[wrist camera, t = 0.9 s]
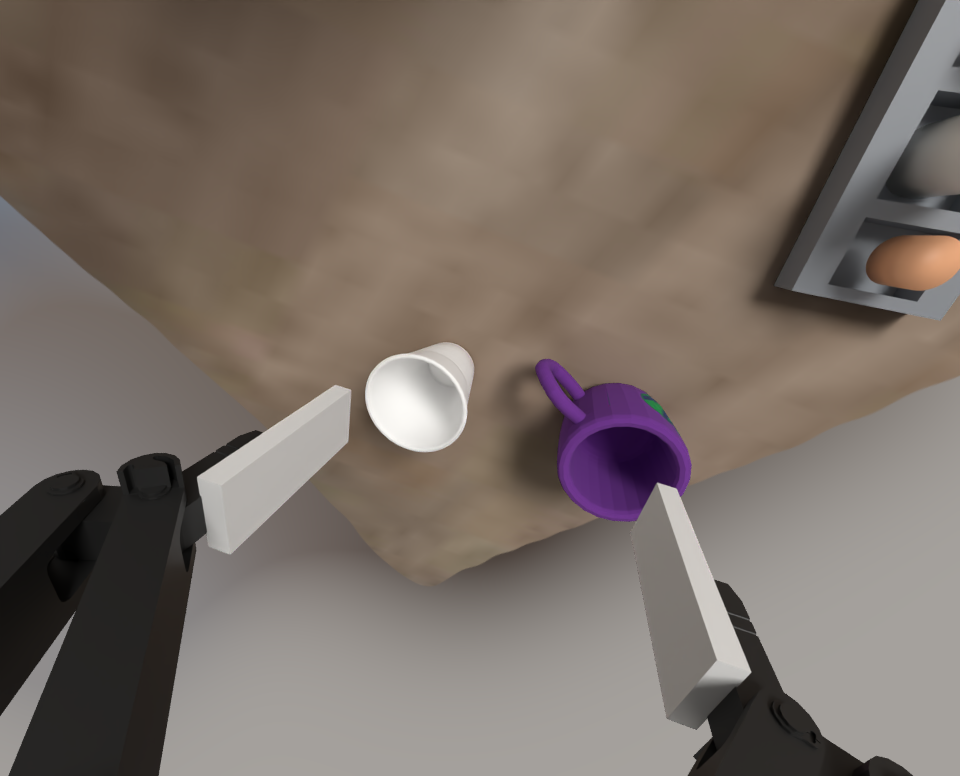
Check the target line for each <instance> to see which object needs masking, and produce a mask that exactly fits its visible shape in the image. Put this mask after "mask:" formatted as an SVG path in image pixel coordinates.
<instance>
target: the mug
mask: <svg viewBox="0 0 960 776" xmlns="http://www.w3.org/2000/svg"><path fill="white" fill-rule="evenodd" d="M535 369H536V374H537V376H538V378H539V381H540V383H541V385H542V387H543V389H544V390H545V392H546V394H547V396H548V397H549V399H550V400H551V401H552V403H553V404H554V406H555V407H556V408H557V409H558V410H559V411H560V412H561V413H562V414H564V415H565V416H564V419H563V423H562V427H561V431H560V437H559V443H558V455H557V469H558V477H559V480H560V482H561V485H562V487H563V489H564V491H565V492H566V493H567V495H568V496H569V497H570V498H571V500H572V501H573V502H575V503H576V504H577V505H578V506H580V507H581V508H582V509H583V510H585V511H587V512H589V513H591V514H593V515H595V516H597V517H600V518H604V519H608V520H612V521H629V522H630V521H637V519H638V517H639V515H640V513H641V511H642V510H643V508H644V506H645V504H646V502H647V500H648V498H649V496H650V495H651V493H652V491H653V489H654V487H655V485H656V483H660V484H663V485H666V486H670V487H673V488H676V489H677V490H678V493H679V495H680V497H681V496H682V495H683V493H684V491H685V489H686V487H687V485H688V483H689V480H690V475H691V461H690V457H689V454H688V450H687V447H686V446H685V444H684V442H683V440H682V438H681V436H680V434H679V433H678V431H677V430H676V428H675V427H674V425H673V424H672V422H671V421H670V419H669V418H668V416H667V415H666V413H665V412H664V410H663V409H662V407H661V406H660V405H659V404H658V403H657V402H656V401H655V400H654V399H653V398H651V397H650V396H649V395H648V394H647V393H645V392H644V391H642V390H640V389H638V388H636V387H634V386H632V385H627V384H621V383H608V384H602V385H598V386H595V387H592V388H590V389H588V390H586V391H583V389H582V388H581V387H580V385H579V384H578V383H577V382H576V381H575V380H574V378H573V377H572V376H571V375H570V374H569V373H568V372H567V371H566V370H565V369H564V368H563V367H562V366H561V365H559V364H558V363H557V362H556V361H553V360H551V359H543V360H540V361H539V362H538V363H537V365H536V367H535ZM554 377H555V378H556V379H557V380H558V382H559V383H560V384H561V385H562V386H563V387H564V388H565V389H566V390H567V391H568V393H569V394H570V395H571V397H572V398H573V399H574V401H573V402H572V401H571V400H570V399H569V398H568V397H567V396H566V395H565V393H564V392H563V391H562V389H561V388H560V386H559V385H558V383H557V381H556V379H555V378H554Z"/></svg>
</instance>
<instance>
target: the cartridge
mask: <svg viewBox="0 0 960 776" xmlns="http://www.w3.org/2000/svg"><path fill="white" fill-rule="evenodd" d="M885 184H886V186H887V188H888V189H889V190H890V191H891V192H892V193H893V194H894V195H896V196H899V197H902V198H908V199H915V198H925V197H936V196H947V195H957V194H960V115H957V116H954V117H950V118H947V119H944V120H940V121H937V122H934V123H930V124H927V125H925V126H922V127H920V128H918V129H916V130H915V132H914V134H913V135H912V137H911V139H910V141H909V142H908V144H907V146H906V148H905V149H904V151H903V153H902V155H901V157H900V158H899V160H898V162H897V164H896V165H895V167H894V169H893V171H892V172H891V174H890V176H889V178H888V179H887V181H886V183H885Z"/></svg>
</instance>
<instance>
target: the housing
mask: <svg viewBox="0 0 960 776" xmlns="http://www.w3.org/2000/svg"><path fill="white" fill-rule="evenodd" d="M957 115H960V0H919V1H918V2H917V4H916V6H915V8H914V10H913V12H912V14H911V16H910V18H909V20H908V22H907V24H906V26H905V28H904V30H903V32H902V34H901V36H900V38H899V40H898V42H897V44H896V46H895V48H894V50H893V52H892V54H891V56H890V58H889V60H888V62H887V64H886V66H885V67H884V69H883V71H882V73H881V75H880V77H879V79H878V81H877V83H876V85H875V87H874V89H873V91H872V93H871V95H870V97H869V99H868V101H867V103H866V105H865V107H864V109H863V111H862V113H861V115H860V117H859V119H858V121H857V123H856V125H855V127H854V129H853V130H852V132H851V134H850V136H849V138H848V140H847V142H846V144H845V146H844V148H843V150H842V152H841V154H840V156H839V158H838V160H837V162H836V164H835V166H834V168H833V170H832V172H831V174H830V176H829V178H828V180H827V182H826V184H825V186H824V188H823V190H822V192H821V194H820V195H819V197H818V199H817V201H816V203H815V205H814V207H813V209H812V211H811V213H810V215H809V217H808V219H807V221H806V223H805V225H804V227H803V229H802V231H801V233H800V235H799V237H798V239H797V241H796V243H795V245H794V247H793V249H792V251H791V253H790V255H789V257H788V259H787V260H786V262H785V264H784V266H783V268H782V270H781V272H780V274H779V276H778V278H777V280H776V282H775V284H774V286H776V287H780V288H784V289H787V290H791V291H796V292H801V293H806V294H811V295H816V296H821V297H826V298H831V299H836V300H841V301H846V302H851V303H856V304H861V305H866V306H871V307H875V308H880V309H885V310H890V311H895V312H900V313H905V314H910V315H915V316H920V317H925V318H930V319H935V320H940V321H941V319H942V318H943V316H944V315H945V314H946V312H947V311H948V310H949V308H950V307H951V305H952V304H953V303H954V301H955V300H956V299H957V297H958V296H959V294H960V269H959V270H958V272H957V273H956V274H955V275H954V276H953V277H952V278H951V279H949V280H948V281H947V282H945V283H943V284H942V285H940V286H937V287H935V288H932V289H928V290H922V291H915V290H909V289H903V288H897V287H892V286H886V285H880V284H877V283H874V282H873V281H871V280H870V279H869V277H868V276H867V274H866V263H867V260H868V258H869V256H870V254H871V253H872V252H873V250H874V249H875V248H876V247H877V246H879V245H880V244H881V243H883V242H884V241H886V240H888V239H890V238H893V237H896V236H901V235H932V236H950V237H953V238H956V239H957V240H959V241H960V194H957V195H947V196H936V197H925V198H915V199H908V198H902V197H899V196H896V195H894V194H893V193H892V192H891V191H890V190H889V189H888V188H887V186H886V184H885V183H886V181H887V179H888V178H889V176H890V174H891V172H892V171H893V169H894V167H895V165H896V164H897V162H898V160H899V158H900V157H901V155H902V153H903V151H904V149H905V148H906V146H907V144H908V142H909V141H910V139H911V137H912V135H913V134H914V132H915V130H916V129H918V128H920V127H922V126H925V125H927V124H930V123H934V122H937V121H940V120H944V119H947V118H950V117H954V116H957Z"/></svg>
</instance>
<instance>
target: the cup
mask: <svg viewBox="0 0 960 776" xmlns="http://www.w3.org/2000/svg"><path fill="white" fill-rule="evenodd" d="M473 376H474V364H473V361H472V358H471V356H470V355H469V354H468V352H467V351H466V350H465V349H464V348H462V347H461V346H459V345H457V344H454V343H450V342H442V343H438V344H435V345H432V346H429V347H426V348H423V349H420V350H417V351H414V352H411V353H407V354H399V355H394V356H391V357H389V358H387V359H384V360H383V361H382V362H380V363H379V364H378V365H377V366H376V367H375V368H374V369H373V371H372V372H371V374H370V376H369V378H368V380H367V384H366V389H365V400H366V406H367V410H368V412H369V415H370V417H371V419H372V421H373V422H374V424H375V426H376V427H377V428H378V429H379V430H380V432H381V433H382V434H383V435H384V436H386V437H387V438H388V439H389V440H390V441H392V442H393V443H395V444H397V445H398V446H401V447H403V448H405V449H408V450H412V451H416V452H433V451H437V450H440V449H444V448H445V447H447V446H449V445H451V444H452V443H453V442H454V441H455V440H456V439H457V438H458V437H459V436H460V434H461V433H462V431H463V429H464V426H465V424H466V419H467V404H468V399H469V394H470V390H471V385H472V381H473Z"/></svg>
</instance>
